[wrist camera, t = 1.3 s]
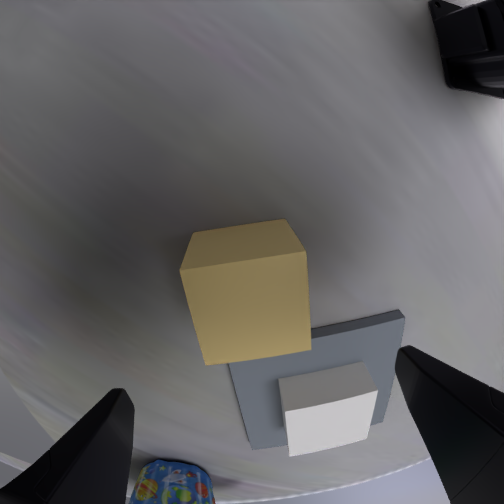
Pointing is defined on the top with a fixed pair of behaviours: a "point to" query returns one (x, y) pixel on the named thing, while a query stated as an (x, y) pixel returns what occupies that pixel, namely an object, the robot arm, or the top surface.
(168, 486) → the snack cup
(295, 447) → the white brick
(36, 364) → the top surface
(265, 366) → the baseplate
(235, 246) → the ochre brick
